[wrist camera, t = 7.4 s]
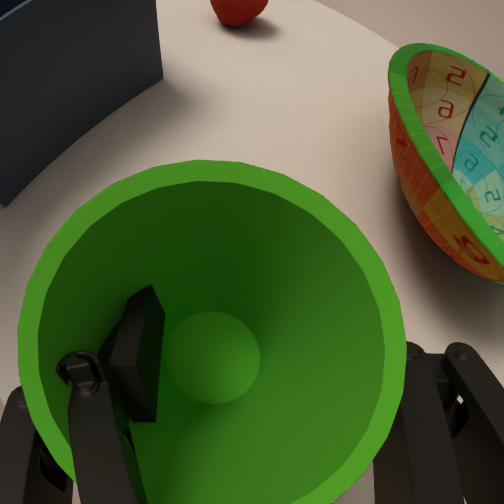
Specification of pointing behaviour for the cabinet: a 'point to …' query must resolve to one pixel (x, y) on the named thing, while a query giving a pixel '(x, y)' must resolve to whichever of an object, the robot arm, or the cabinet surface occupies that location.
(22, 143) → the box
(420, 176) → the bowl
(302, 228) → the cup
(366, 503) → the cabinet surface
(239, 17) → the apple
